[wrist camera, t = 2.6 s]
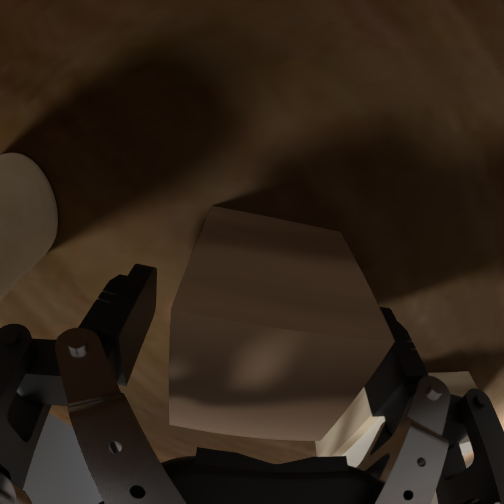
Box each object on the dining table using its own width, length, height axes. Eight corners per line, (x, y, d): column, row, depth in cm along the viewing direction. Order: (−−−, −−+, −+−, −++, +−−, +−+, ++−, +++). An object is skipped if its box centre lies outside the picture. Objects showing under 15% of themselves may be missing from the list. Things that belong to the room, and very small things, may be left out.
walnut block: (211, 205, 11) (171, 308, 6) (340, 231, 12) (395, 341, 6) (197, 309, 14) (169, 424, 8) (304, 326, 14) (320, 440, 9)
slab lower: (366, 365, 16) (378, 406, 13) (465, 366, 17) (481, 396, 14) (314, 435, 20) (318, 467, 18) (405, 431, 21) (413, 458, 18)
